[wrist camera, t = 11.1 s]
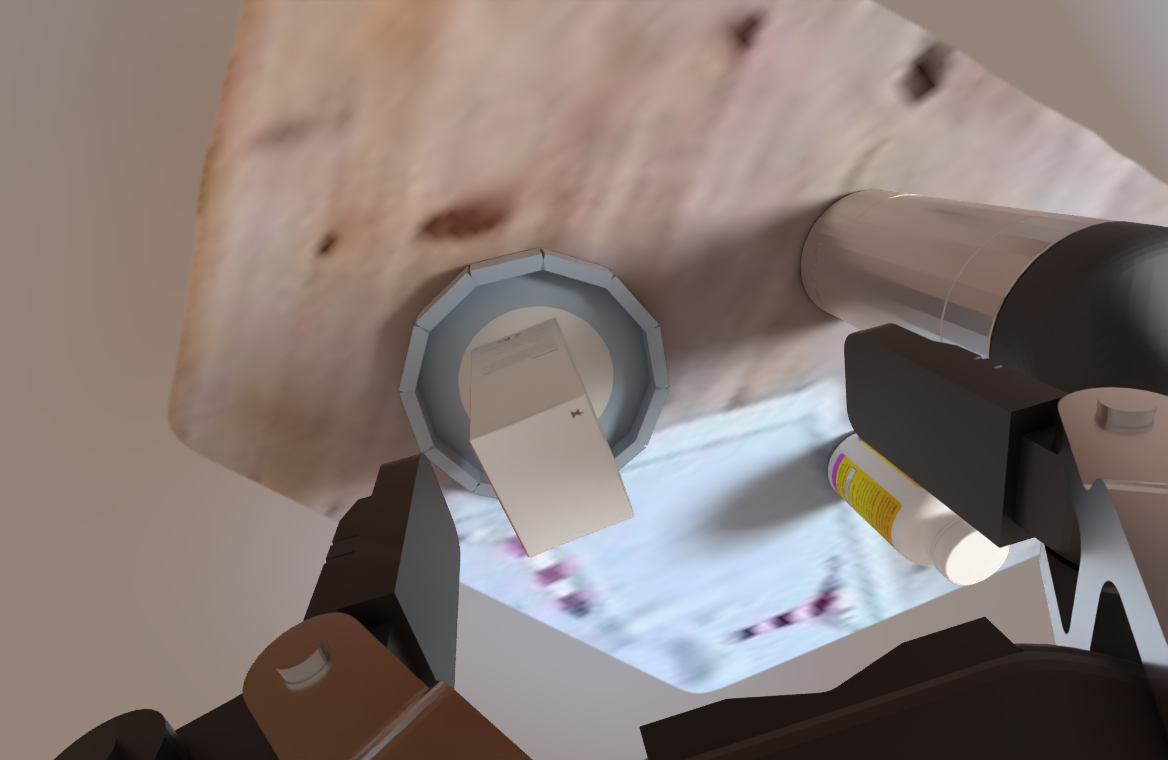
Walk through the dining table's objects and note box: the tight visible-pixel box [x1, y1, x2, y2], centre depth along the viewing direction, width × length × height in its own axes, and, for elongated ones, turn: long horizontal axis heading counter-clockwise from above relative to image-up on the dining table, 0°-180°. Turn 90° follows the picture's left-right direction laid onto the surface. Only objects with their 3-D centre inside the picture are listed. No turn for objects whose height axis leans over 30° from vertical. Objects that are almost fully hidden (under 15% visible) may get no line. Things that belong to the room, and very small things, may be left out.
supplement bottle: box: [828, 433, 1009, 585], centre depth 44 cm, size 7×7×13 cm
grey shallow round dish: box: [399, 248, 670, 498], centre depth 41 cm, size 18×18×2 cm
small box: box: [469, 318, 634, 557], centre depth 36 cm, size 8×6×13 cm
